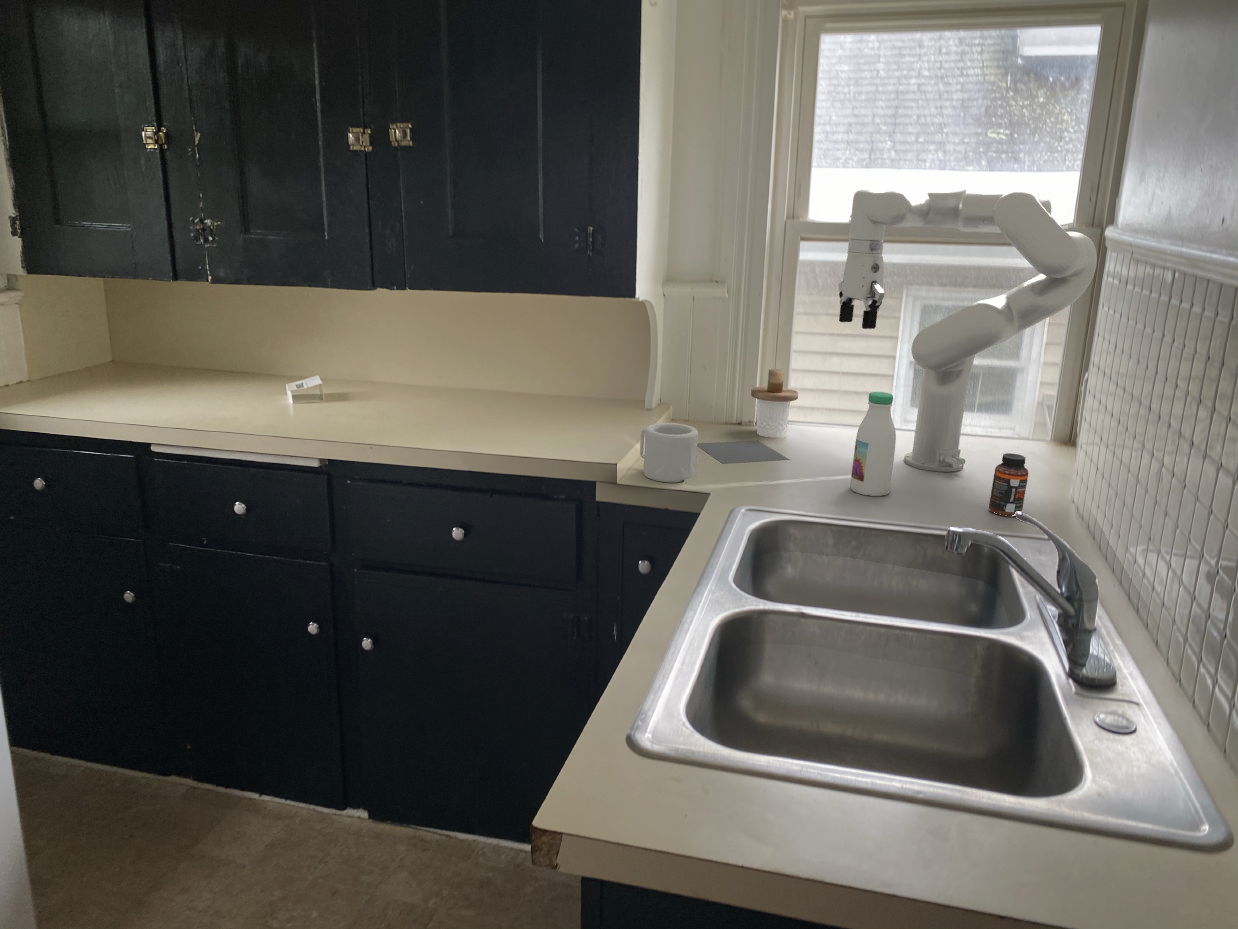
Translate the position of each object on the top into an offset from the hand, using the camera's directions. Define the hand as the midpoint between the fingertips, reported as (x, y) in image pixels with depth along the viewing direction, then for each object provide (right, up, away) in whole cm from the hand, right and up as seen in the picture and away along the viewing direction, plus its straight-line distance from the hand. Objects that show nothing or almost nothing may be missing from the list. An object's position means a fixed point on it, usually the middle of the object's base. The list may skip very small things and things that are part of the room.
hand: (856, 325), depth 217 cm
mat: (-27, -29, -3) cm, 40 cm away
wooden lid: (-17, -15, +10) cm, 25 cm away
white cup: (-18, -25, +13) cm, 33 cm away
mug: (-45, -34, -19) cm, 59 cm away
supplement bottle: (+20, -41, -34) cm, 57 cm away
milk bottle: (-4, -37, -25) cm, 45 cm away
